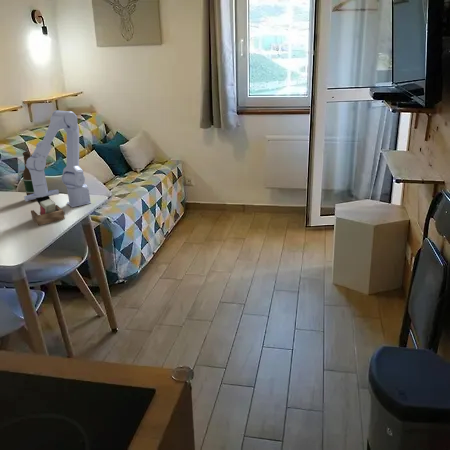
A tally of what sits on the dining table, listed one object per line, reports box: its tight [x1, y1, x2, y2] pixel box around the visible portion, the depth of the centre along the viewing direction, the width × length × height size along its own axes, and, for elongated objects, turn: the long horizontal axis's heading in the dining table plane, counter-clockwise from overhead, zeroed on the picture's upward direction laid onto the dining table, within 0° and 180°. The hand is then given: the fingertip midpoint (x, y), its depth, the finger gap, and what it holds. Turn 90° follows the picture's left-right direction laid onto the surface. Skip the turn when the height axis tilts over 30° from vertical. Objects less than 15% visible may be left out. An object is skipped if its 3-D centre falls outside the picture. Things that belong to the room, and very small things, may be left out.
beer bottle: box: [22, 150, 37, 202], centre depth 236 cm, size 8×8×24 cm
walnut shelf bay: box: [30, 204, 66, 226], centre depth 213 cm, size 12×10×4 cm
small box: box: [39, 198, 56, 215], centre depth 212 cm, size 5×4×8 cm
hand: (45, 212), depth 216 cm, fingers closed
